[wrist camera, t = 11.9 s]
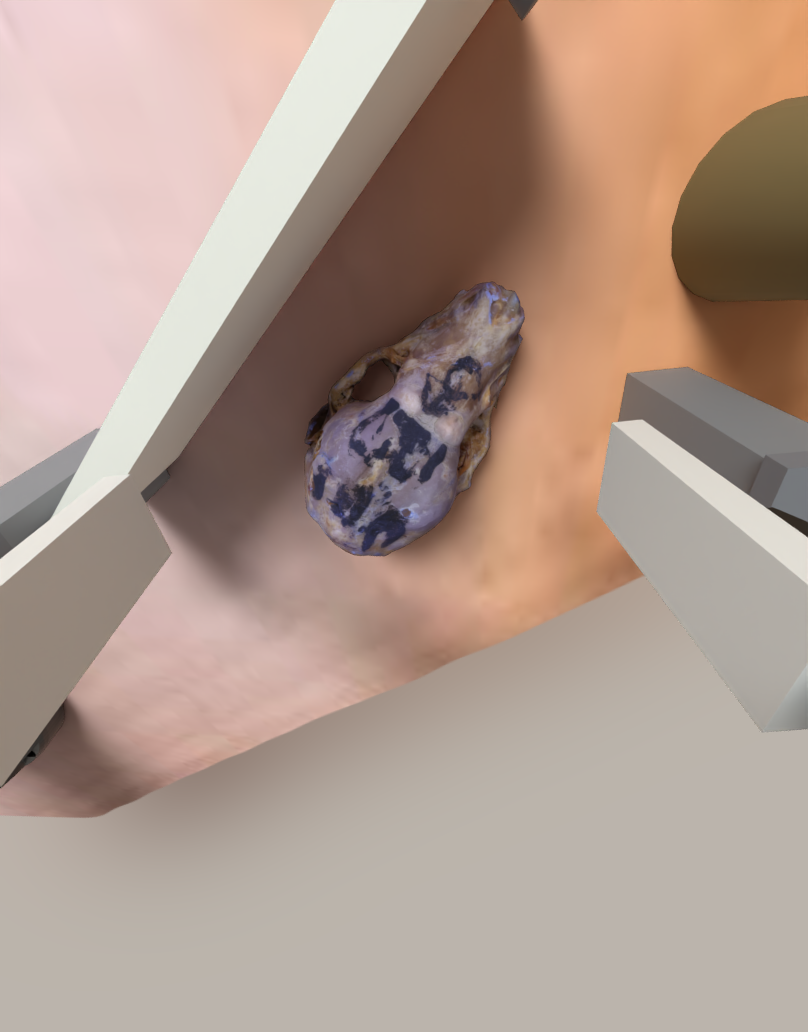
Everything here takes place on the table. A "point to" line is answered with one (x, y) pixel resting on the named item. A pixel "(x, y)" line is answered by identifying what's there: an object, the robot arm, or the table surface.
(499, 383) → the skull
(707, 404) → the post
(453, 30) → the gate
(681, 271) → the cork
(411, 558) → the table surface
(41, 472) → the hinge post
